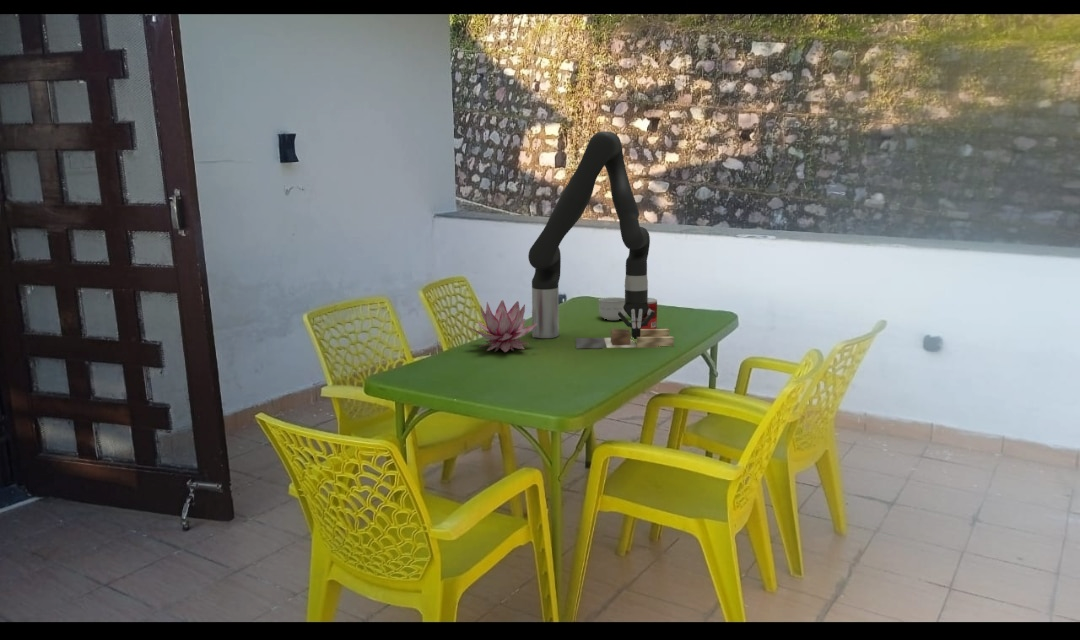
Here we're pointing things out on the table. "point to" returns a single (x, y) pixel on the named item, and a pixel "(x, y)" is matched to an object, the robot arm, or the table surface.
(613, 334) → the walnut block
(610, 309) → the teacup
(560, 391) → the table surface
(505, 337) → the decorative flower
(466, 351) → the table surface
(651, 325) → the canned food
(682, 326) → the table surface
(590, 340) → the corridor track
